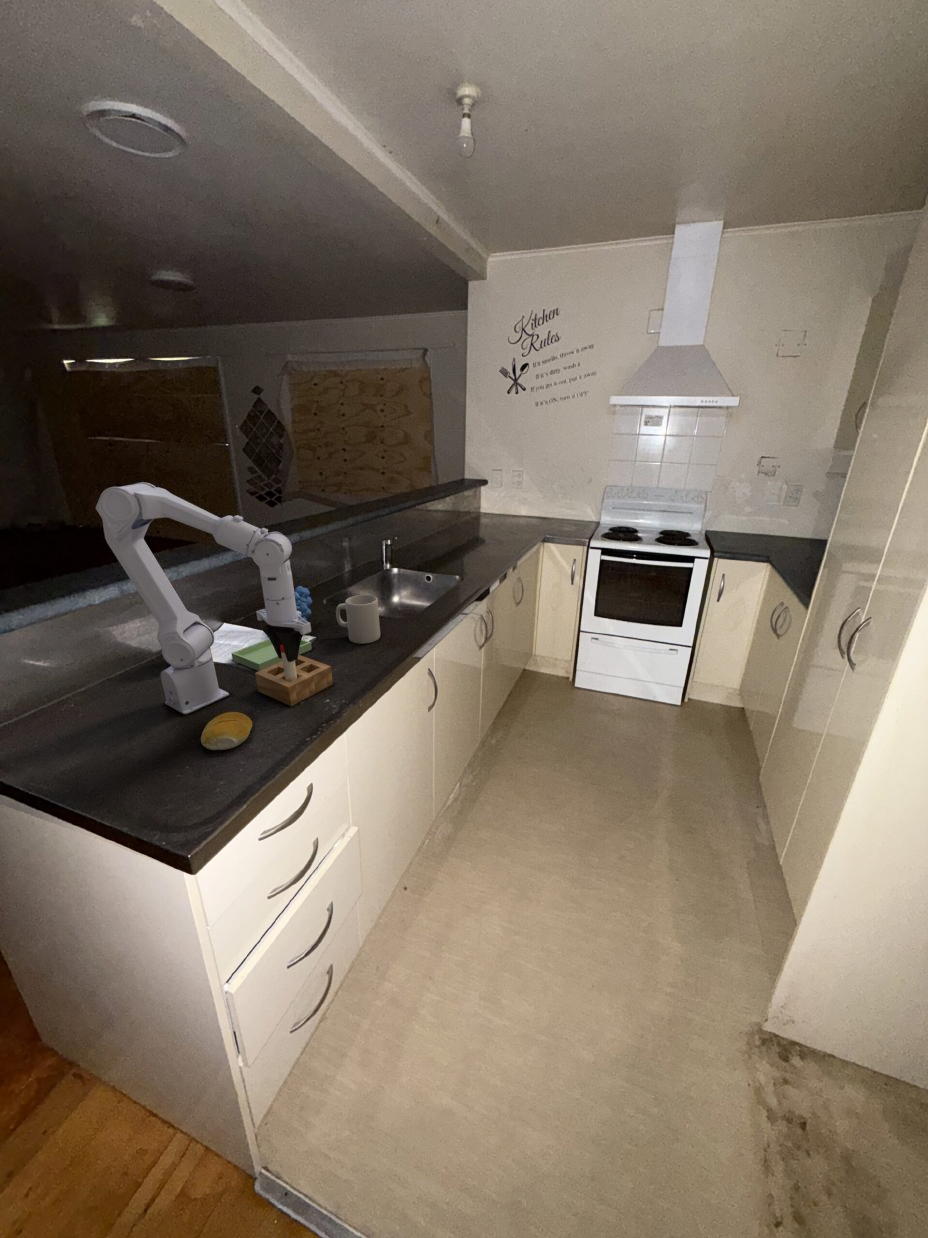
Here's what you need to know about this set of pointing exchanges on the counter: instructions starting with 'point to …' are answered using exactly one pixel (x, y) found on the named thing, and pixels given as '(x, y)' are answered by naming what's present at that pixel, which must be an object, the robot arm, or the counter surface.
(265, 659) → the tray
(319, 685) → the pen holder
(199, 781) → the counter surface
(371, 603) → the mug
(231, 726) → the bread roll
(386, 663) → the counter surface
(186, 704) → the robot arm
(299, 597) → the grapes
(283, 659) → the marker
